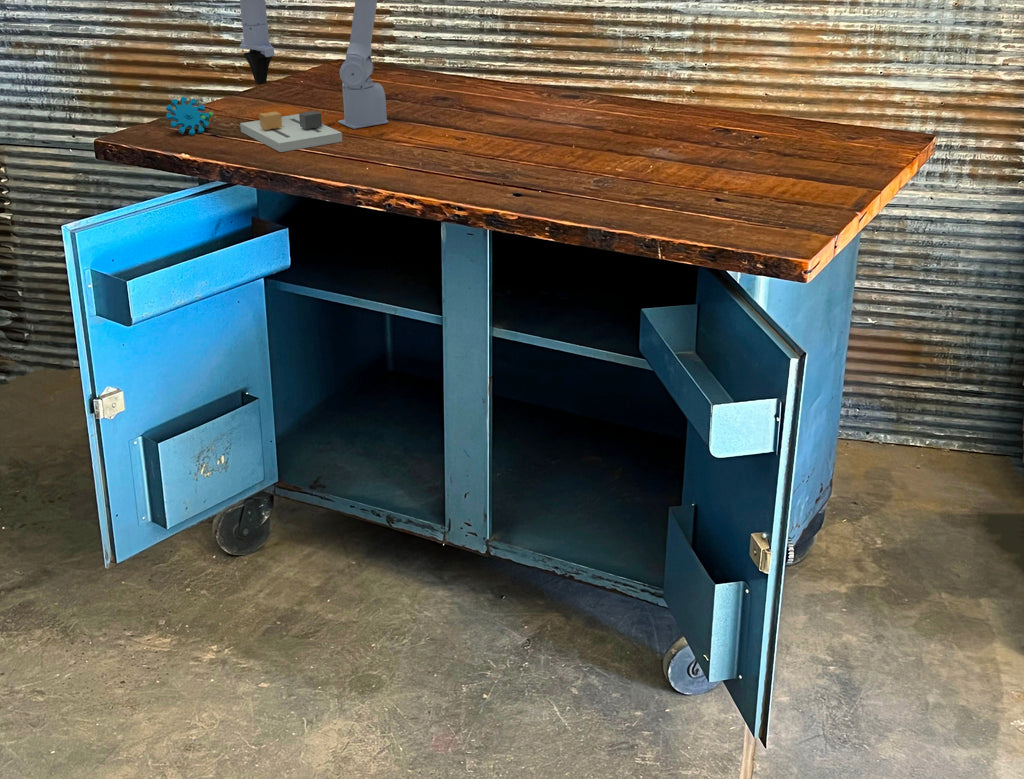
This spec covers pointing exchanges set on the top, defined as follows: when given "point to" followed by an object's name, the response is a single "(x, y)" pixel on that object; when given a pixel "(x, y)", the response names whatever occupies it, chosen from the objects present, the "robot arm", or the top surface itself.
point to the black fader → (310, 119)
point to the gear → (188, 116)
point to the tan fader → (270, 120)
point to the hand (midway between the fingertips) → (261, 83)
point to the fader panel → (291, 134)
